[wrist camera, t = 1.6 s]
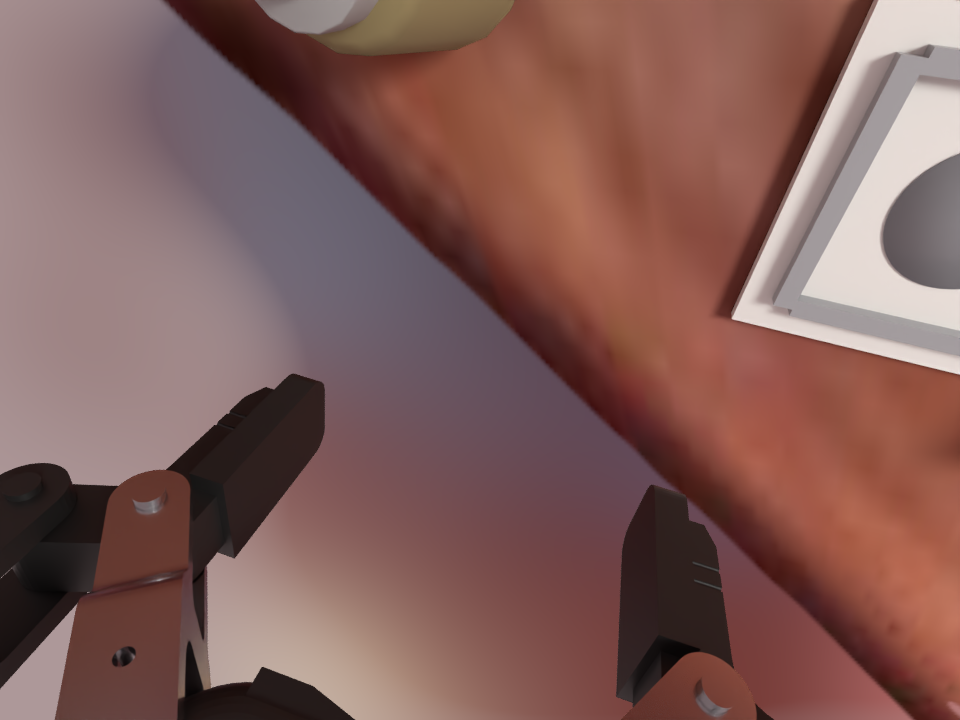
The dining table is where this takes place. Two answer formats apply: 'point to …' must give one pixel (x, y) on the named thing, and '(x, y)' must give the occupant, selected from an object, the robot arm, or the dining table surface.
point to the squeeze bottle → (389, 23)
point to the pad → (875, 200)
